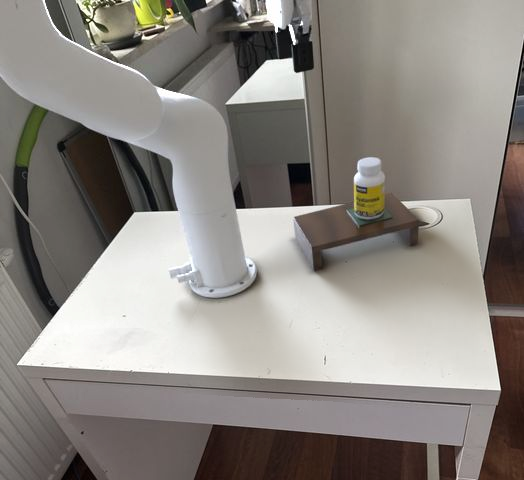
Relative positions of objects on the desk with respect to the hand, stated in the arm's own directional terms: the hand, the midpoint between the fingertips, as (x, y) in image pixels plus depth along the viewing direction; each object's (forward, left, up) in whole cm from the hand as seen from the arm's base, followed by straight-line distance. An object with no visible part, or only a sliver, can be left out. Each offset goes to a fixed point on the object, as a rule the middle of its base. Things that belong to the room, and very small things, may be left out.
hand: (295, 63), depth 86 cm
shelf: (+6, -9, -30) cm, 32 cm away
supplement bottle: (+9, -9, -25) cm, 28 cm away
